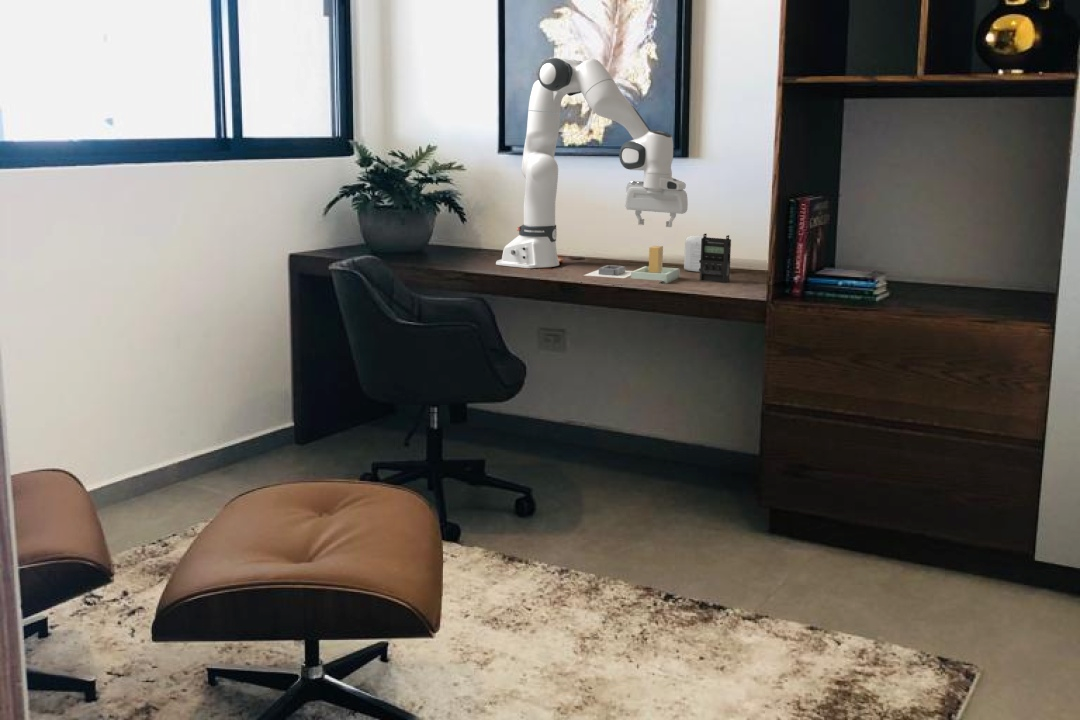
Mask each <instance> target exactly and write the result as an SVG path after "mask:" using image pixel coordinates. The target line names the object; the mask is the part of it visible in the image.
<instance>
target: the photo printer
mask: <svg viewBox="0 0 1080 720" xmlns="http://www.w3.org/2000/svg"><path fill="white" fill-rule="evenodd" d="M707 237H708V238H711V237H709V236H707ZM701 238H703V234H702V235H701V234H696V235H690V236H687V237H686V239H685V242H684V263H683V269H684V270H685V271H687V272H689V271H690V272H697V273H700V271H699V268H700V264H701V263H699V260H701Z"/></svg>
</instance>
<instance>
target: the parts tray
mask: <svg viewBox="0 0 1080 720" xmlns="http://www.w3.org/2000/svg"><path fill="white" fill-rule="evenodd" d="M631 271H632V272H631V276H630V279H634V280H635V279H636V280H650V281H659V284H666V285H667V284H669V283H672V282H673V281H675V280H677V279H679V278H680V268H676V267H675V268H674V267H663V266H662V271H661V274H660V273H650V272H649V265H648V266H646V265H645V266H642V267H640V268H637V269H635V270H631Z"/></svg>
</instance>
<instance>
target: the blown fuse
mask: <svg viewBox="0 0 1080 720" xmlns="http://www.w3.org/2000/svg"><path fill="white" fill-rule="evenodd" d="M648 248H649V251H648V254H649V256H648V267H649V272H650V273H660V274H661V271H662V267H663V255H664V254H663V253H664V245H653V246H652V245H651V246H650V247H648Z"/></svg>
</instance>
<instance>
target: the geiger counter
mask: <svg viewBox="0 0 1080 720" xmlns="http://www.w3.org/2000/svg"><path fill="white" fill-rule="evenodd" d="M707 235H708V234H707V233H704V234H702V236H703V238H701V260H699V263H701V264H700V268H699V271H700V272H699V280H700V281H705V282H715V283H722V284H725V283H729V282H730V273H731V272H730V271H731V270H730V268H731V248H732V239H731V238H730V235H728V234H727V235H726V236H725V238H721V237H720V238H718V237H717V238H716V237H710V238H708V237H709V236H707Z"/></svg>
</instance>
